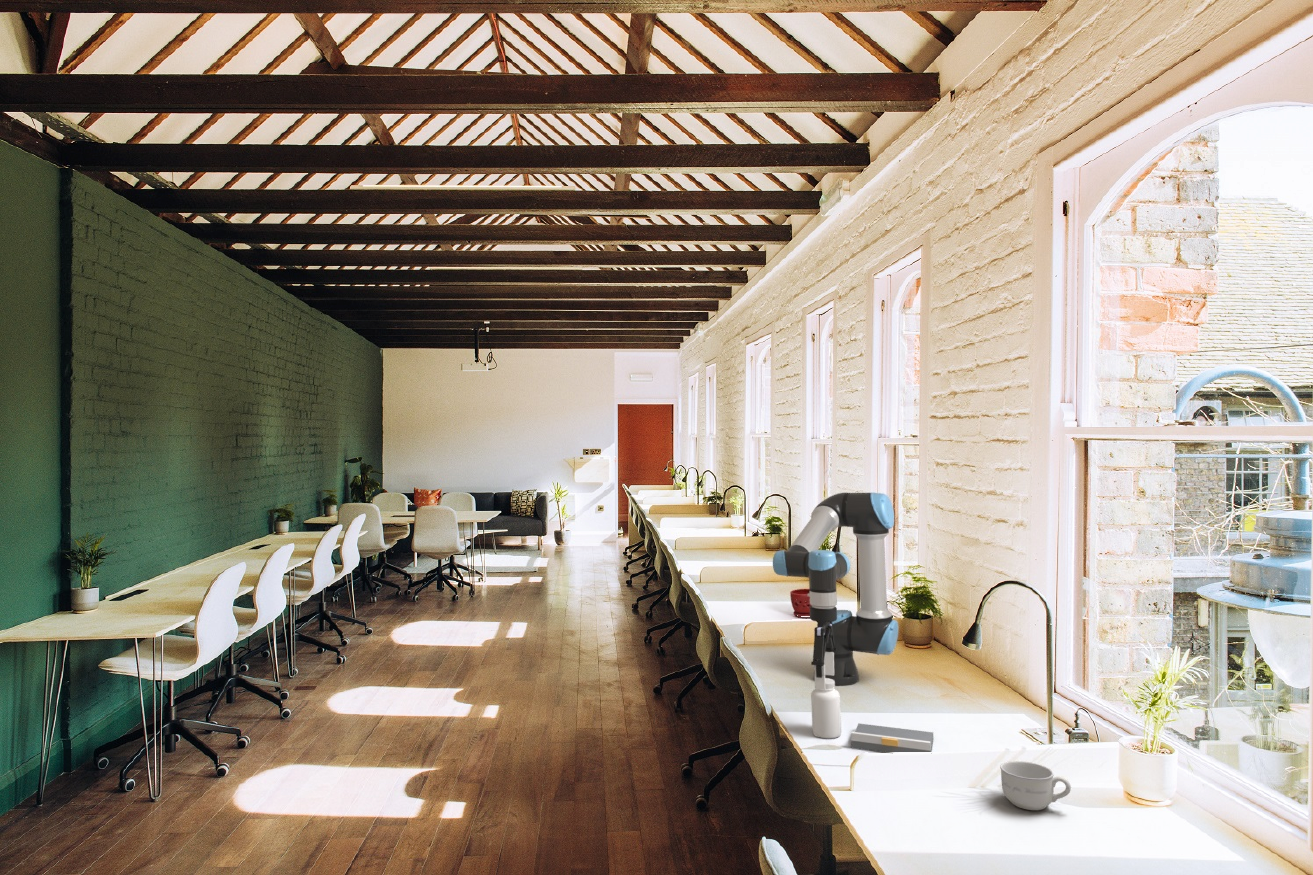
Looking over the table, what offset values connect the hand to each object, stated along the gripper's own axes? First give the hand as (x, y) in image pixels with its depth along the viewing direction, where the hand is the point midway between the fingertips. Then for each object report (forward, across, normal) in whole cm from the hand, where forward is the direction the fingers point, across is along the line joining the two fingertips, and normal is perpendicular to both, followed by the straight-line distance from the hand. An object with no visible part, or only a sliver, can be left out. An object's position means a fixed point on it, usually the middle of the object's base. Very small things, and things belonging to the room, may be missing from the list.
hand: (824, 681), depth 211 cm
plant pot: (+13, -140, -36) cm, 145 cm away
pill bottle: (+15, 0, 0) cm, 15 cm away
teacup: (+15, +26, +51) cm, 59 cm away
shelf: (+15, 0, +18) cm, 23 cm away
